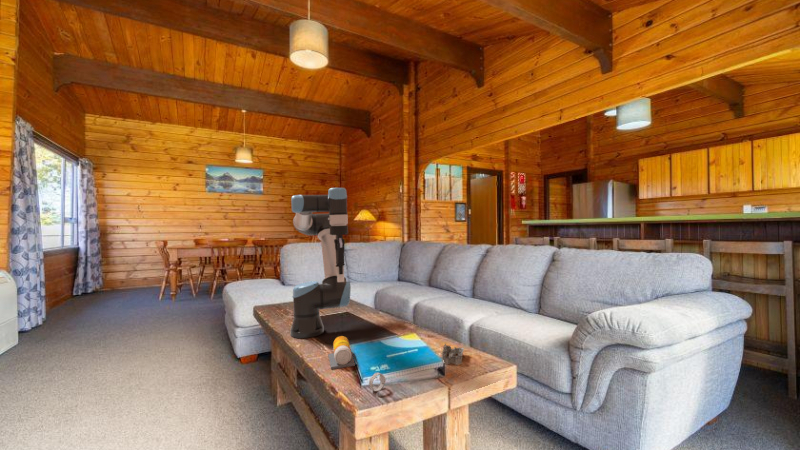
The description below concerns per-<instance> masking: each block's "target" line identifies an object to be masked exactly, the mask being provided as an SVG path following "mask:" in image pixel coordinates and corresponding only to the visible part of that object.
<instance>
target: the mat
mask: <svg viewBox="0 0 800 450" xmlns="http://www.w3.org/2000/svg"><path fill="white" fill-rule="evenodd" d="M352 353H353V351H352V352H351V359H350V361H349V362H348V363H346V364H344V365H341V364H338V363H337V362H336V361H335V358H334V352H332V353H327V355H328V356H327V358H328V361H329V366H330V369H331V370H336V369H343V368H349V367H356V366H355V363H354V359H353V356H354V355H353V356H352Z"/></svg>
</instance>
